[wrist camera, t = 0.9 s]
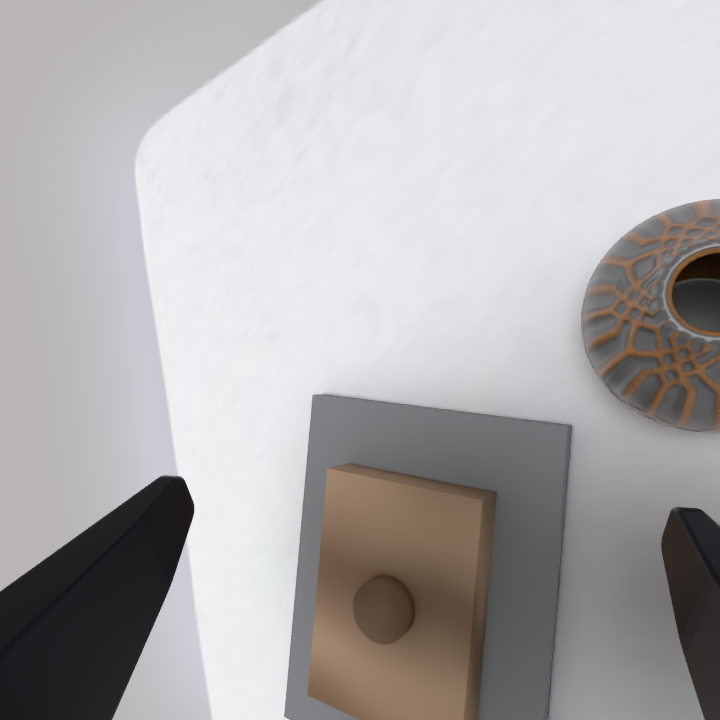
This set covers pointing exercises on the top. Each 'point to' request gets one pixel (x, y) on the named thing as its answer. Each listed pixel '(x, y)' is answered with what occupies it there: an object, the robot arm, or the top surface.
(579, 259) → the top surface
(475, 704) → the lid
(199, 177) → the top surface
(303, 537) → the mat
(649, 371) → the vase
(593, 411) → the top surface
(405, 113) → the top surface
